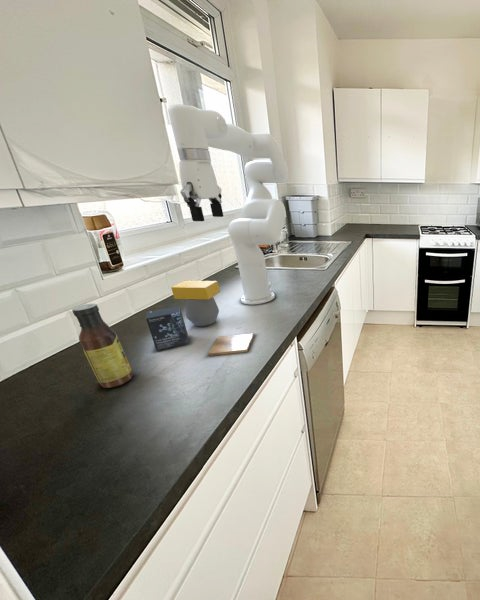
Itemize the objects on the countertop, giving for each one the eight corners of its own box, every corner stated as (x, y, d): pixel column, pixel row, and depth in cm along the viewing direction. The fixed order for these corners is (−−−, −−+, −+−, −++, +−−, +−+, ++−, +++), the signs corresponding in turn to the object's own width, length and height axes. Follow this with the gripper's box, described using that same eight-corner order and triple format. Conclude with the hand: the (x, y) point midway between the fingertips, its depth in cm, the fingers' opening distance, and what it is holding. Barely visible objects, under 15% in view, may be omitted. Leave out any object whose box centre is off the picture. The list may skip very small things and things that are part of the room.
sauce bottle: (140, 376, 78) (112, 303, 70) (111, 392, 72) (78, 314, 65) (122, 371, 80) (93, 299, 72) (93, 386, 74) (58, 310, 67)
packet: (188, 291, 105) (185, 280, 103) (220, 292, 104) (217, 280, 103) (174, 299, 99) (170, 287, 97) (208, 299, 98) (205, 287, 97)
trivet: (219, 338, 96) (218, 336, 95) (254, 335, 98) (253, 333, 97) (208, 356, 86) (207, 353, 86) (247, 351, 89) (246, 349, 88)
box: (156, 352, 88) (145, 318, 84) (157, 343, 93) (146, 311, 89) (189, 344, 92) (179, 311, 88) (188, 336, 97) (179, 305, 93)
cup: (186, 331, 100) (178, 302, 96) (191, 319, 108) (184, 292, 104) (220, 326, 103) (213, 298, 100) (222, 315, 111) (216, 289, 107)
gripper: (201, 157, 96) (213, 215, 102) (158, 155, 80) (176, 223, 86) (225, 158, 96) (236, 215, 102) (187, 155, 80) (203, 223, 86)
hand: (208, 218), depth 94 cm, fingers open, 9 cm apart
